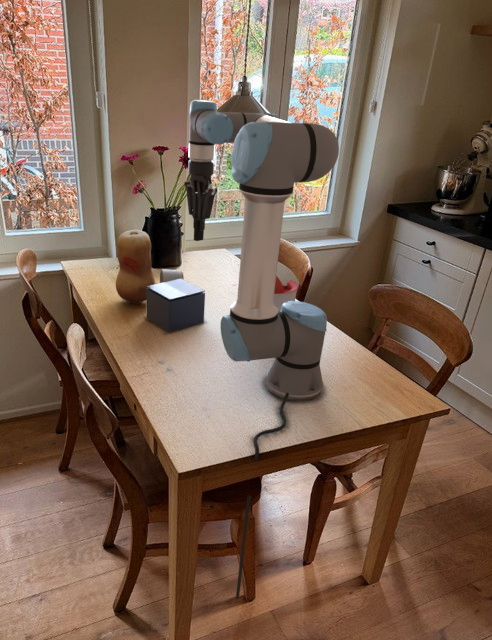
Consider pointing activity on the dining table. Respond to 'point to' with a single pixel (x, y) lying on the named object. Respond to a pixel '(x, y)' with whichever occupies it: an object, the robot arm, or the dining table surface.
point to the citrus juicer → (284, 292)
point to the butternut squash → (134, 266)
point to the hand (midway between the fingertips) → (198, 239)
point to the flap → (185, 287)
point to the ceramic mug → (170, 275)
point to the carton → (173, 307)
